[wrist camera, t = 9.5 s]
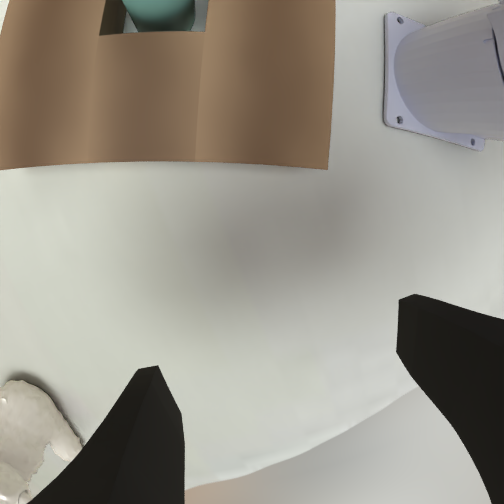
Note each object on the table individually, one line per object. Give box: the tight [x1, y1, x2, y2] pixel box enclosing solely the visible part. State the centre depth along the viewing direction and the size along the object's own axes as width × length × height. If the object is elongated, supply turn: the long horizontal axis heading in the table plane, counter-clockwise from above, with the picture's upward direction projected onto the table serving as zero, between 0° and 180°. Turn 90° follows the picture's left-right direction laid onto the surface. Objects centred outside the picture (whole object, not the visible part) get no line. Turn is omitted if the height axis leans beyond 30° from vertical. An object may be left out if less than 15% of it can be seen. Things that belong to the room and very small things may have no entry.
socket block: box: [0, 0, 335, 170], centre depth 12 cm, size 16×16×4 cm
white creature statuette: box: [0, 380, 82, 504], centre depth 14 cm, size 10×9×12 cm
